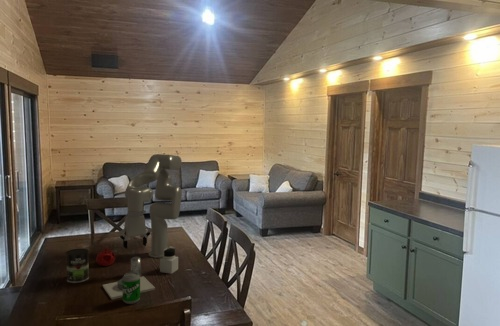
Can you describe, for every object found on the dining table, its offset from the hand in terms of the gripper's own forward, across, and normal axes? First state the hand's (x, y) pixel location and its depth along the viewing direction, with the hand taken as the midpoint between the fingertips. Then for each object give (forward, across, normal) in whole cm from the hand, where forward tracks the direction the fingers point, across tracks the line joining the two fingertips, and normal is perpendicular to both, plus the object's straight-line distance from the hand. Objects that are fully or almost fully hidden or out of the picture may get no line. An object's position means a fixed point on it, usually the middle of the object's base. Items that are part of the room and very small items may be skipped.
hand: (135, 246), depth 200 cm
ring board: (+16, +7, +13) cm, 22 cm away
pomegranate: (+15, +8, -25) cm, 30 cm away
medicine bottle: (+15, -18, +2) cm, 24 cm away
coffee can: (+16, +25, -11) cm, 32 cm away
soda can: (+16, +10, +27) cm, 33 cm away
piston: (+15, -1, -1) cm, 15 cm away
